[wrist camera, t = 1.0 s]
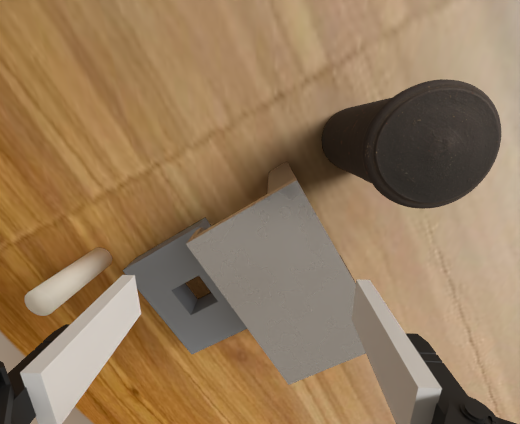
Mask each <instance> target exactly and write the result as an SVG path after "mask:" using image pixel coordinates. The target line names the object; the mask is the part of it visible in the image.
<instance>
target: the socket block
mask: <svg viewBox="0 0 520 424" xmlns="http://www.w3.org/2000/svg"><path fill="white" fill-rule="evenodd" d="M201 227H203V229H204V230H206V229H208V228H209V227H211V225H210V224H209V222H208V221H207V219H206V218H203V219H202V220H200V221H198V222H197V223H195V224H193V225H192V226H190V227H188V228H186V229H185V230H183V231H181V232H180V233H178V234H176V235H175V236H173V237H171V238H169V239H168V240H166V241H164V242H163V243H161V244H159V245H158V246H156V247H154V248H152V249H151V250H149V251H147V252H146V253H144V254H142V255H141V256H139V257H137V258H136V259H134V260H133V261H132V262H131V263H130V264H129V265H128V266H127V267H126V268H125V269H124V270H123V272H124V273H125V274H126V275H135V280H136V286H137V289H138V290H139V291H140V292H141V294H142V295H143V296H144V297H145V298H146V300H147V301H148V302H149V303H150V305H151V306H152V307H153V308H154V309H155V311H156V312H157V313H158V314H159V315H160V317H161V318H162V319H163V320H164V321H165V323H166V324H167V325H168V326H169V328H170V329H171V330H172V331H173V332H174V334H175V335H176V336H177V337H178V338H179V340H180V341H181V342H182V343H183V344H184V346H185V347H186V348H187V349H188V350H189V352H190V353H191V354H194V353H196V352H198V351H200V350H202V349H204V348H207V347H209V346H211V345H213V344H215V343H217V342H219V341H221V340H224V339H226V338H228V337H230V336H232V335H234V334H236V333H238V332H241V331H243V330H245V329H247V327H246V326H245V324H244V323H243V322H242V320H241V319H240V317H239V316H238V315H237V313H236V312H235V311H234V309H233V308H232V307H231V305H230V304H229V302H228V301H227V300H226V298H225V297H224V296H223V294H222V293H221V292H220V290H219V289H218V287H217V286H216V285H215V283H214V282H213V281H212V279H211V278H210V276H209V275H208V274H207V272H206V271H205V270H204V268H203V267H202V266H201V264H200V263H199V261H198V260H197V259H196V257H195V256H194V255H193V253H192V252H191V251H190V249H189V248H188V246H187V245H186V243H187V242H188V240H189V239H190V238H191V236H192V235H193V234H194V233H195V231H196V230H198V229H199V228H201ZM197 276H200V278H201V279H202V280H203V282H204V283H205V285H206V286H207V287H208V289H209V290H210V291H211V293H210V294H208V295H206V296H204V297H202V298H200V299H197V298H196V297H195V295H194V294H193V293H192V291H191V290H190V289H189V288H188V286H187V285H186V284H185V283H186V282H188V281H189V280H191V279H193V278H195V277H197Z"/></svg>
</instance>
